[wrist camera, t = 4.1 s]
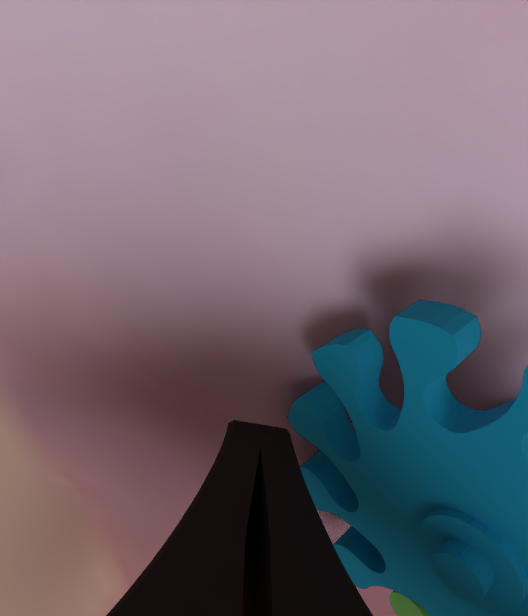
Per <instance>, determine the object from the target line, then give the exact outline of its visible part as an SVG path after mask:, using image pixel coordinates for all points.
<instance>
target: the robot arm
mask: <svg viewBox="0 0 528 616" xmlns="http://www.w3.org/2000/svg"><path fill="white" fill-rule="evenodd" d="M106 616H373V615H372V613H371V612H370V610H369V609H368V607H367V605H366V604H365V602H364V600H363V599H362V597H361V595H360V594H359V592H358V590H357V589H356V587H355V585H354V583H353V582H352V580H351V578H350V576H349V575H348V573H347V571H346V569H345V567H344V565H343V564H342V562H341V560H340V558H339V556H338V554H337V552H336V550H335V548H334V546H333V544H332V542H331V540H330V538H329V536H328V534H327V532H326V530H325V527H324V525H323V523H322V521H321V519H320V516H319V514H318V512H317V509H316V507H315V505H314V502H313V500H312V497H311V495H310V493H309V490H308V488H307V485H306V483H305V480H304V477H303V475H302V472H301V469H300V466H299V463H298V460H297V457H296V454H295V451H294V448H293V444H292V440H291V436H290V433H289V432H288V430H287V429H284V428H278V427H272V426H266V425H260V424H254V423H248V422H242V421H236V420H233V421H232V422H230V423H228V428H227V432H226V435H225V438H224V441H223V444H222V446H221V449H220V451H219V453H218V455H217V458H216V460H215V462H214V464H213V466H212V468H211V470H210V472H209V473H208V475H207V477H206V479H205V481H204V483H203V485H202V486H201V488H200V490H199V492H198V493H197V495H196V497H195V498H194V500H193V501H192V503H191V505H190V506H189V508H188V509H187V511H186V513H185V514H184V516H183V517H182V519H181V520H180V522H179V524H178V525H177V526H176V528H175V529H174V531H173V532H172V534H171V535H170V537H169V538H168V539H167V541H166V542H165V544H164V545H163V546H162V548H161V549H160V550H159V552H158V553H157V554H156V556H155V557H154V558H153V560H152V561H151V562H150V564H149V565H148V566H147V568H146V569H145V570H144V571H143V572H142V574H141V575H140V576H139V577H138V579H137V580H136V581H135V582H134V584H133V585H132V586H131V587H130V589H129V590H128V591H127V592H126V593H125V595H124V596H123V597H122V598H121V599H120V601H119V602H118V603H117V604H116V605H115V606H114V608H113V609H112V610H111V611H110V612H109V613H108V614H107V615H106Z"/></svg>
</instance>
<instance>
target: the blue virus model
mask: <svg viewBox="0 0 528 616" xmlns="http://www.w3.org/2000/svg"><path fill="white" fill-rule="evenodd" d="M389 338H390V342H391V346H392V348H393V350H394V352H395V354H396V357H397V359H398V362H399V365H400V368H401V371H402V376H403V382H404V402H403V407H402V410H401V409H399V408H397V407H395V406H394V405H392V404H391V403H390V402H389V401H388V400H387V399H386V398H385V396H384V395H383V393H382V391H381V388H380V385H379V376H380V372H381V369H382V365H383V359H384V357H383V350H382V347H381V344H380V342H379V340H378V339H377V337H376V336H375V334H374V333H373V332H372V331H371V330H370V329H355V330H351V331H348V332H345V333H343V334H342V335H340V336H338V337H336V338H334V339H333V340H331V341H329V342H328V343H326V344H324V345H323V346H321V347H320V348H318V349H316V350H315V351H313V352H312V356H313V361H314V364H315V367H316V369H317V371H318V373H319V374H320V375H321V377H322V378H323V379H324V380H325V381H326V383H325V382H321V383H320V384H318V385H317V386H315V387H314V388H312V389H311V390H309V391H308V392H306V393H305V394H304V395H302V396H301V397H299V398H298V399H296V400H295V402H294V403H293V404H292V406H291V408H290V411H289V414H288V417H287V418H288V420H289V422H290V424H291V425H292V427H293V428H294V430H295V431H296V432H297V433H298V434H299V435H300V436H301V437H303V438H304V439H306V440H307V441H309V442H311V443H312V444H313V445H315V446H316V447H317V448H318V449H320V450H321V451H319V452H318V453H317V454H315V455H314V456H313V457H312V458H310V459H309V460H308V461H307V462H305V463H304V464H303V465H302V466H300V469H301V472H302V475H303V477H304V480H305V483H306V485H307V488H308V490H309V493H310V495H311V497H312V500H313V502H314V505H315V507H316V509H318V510H322V511H327V512H329V513H332V514H334V515H336V516H338V517H340V518H341V519H343V520H344V521H346V522H347V523H349V524H350V525H352V526H351V527H350V528H349V529H348V530H347V531H346V532H345V533H344V534H343V535H342V536H341V537H340V538H339V539H338V540H337V541H336V542H335V543H334V544H333V546H334V548H335V550H336V552H337V554H338V556H339V558H340V560H341V562H342V564H343V565H344V567H345V569H346V571H347V573H348V575H349V576H350V578H351V580H352V582H353V583H354V585H355V586H356V587H359V588H362V589H366V588H368V587H369V586H383V587H386V588H389V589H392V590H394V591H393V592H392V593H391V594H390V602H391V605H392V607H393V609H394V611H395V612H396V613H397V615H398V616H528V365H527V367H526V369H525V371H524V376H523V382H522V387H521V389H520V392H519V394H518V397H517V398H515V399H513V400H511V401H509V402H507V403H505V404H502V405H500V406H497V407H495V408H492V409H489V410H485V411H483V410H475V409H471V408H469V407H467V406H465V405H463V404H462V403H460V402H459V401H458V400H457V399H456V398H455V397H454V396H453V394H452V393H451V392H450V390H449V388H448V385H447V381H446V374H448V373H449V372H450V371H452V370H453V369H454V368H455V367H456V366H457V365H458V364H460V363H461V362H462V361H463V360H464V359H465V358H466V357H468V356H469V355H470V354H471V353H472V352H473V351H474V350H475V349H476V348H477V346H478V344H479V342H480V338H481V328H480V323H479V321H478V318H477V316H475V315H473V314H471V313H470V312H468V311H466V310H464V309H461V308H458V307H456V306H453V305H449V304H444V303H440V302H433V301H425V300H419V301H417V302H416V303H414V304H413V305H411V306H410V307H408V308H407V309H405V310H404V311H402V312H401V313H399V314H398V315H396V316H395V317H394V319H393V320H392V322H391V325H390V329H389ZM344 407H345V408H346V410H347V412H348V414H349V416H350V418H351V420H352V423H353V426H354V429H355V432H356V433H355V432H354V431H353V429H352V428H351V426H350V424H349V422H348V419H347V415H346V412H345V408H344Z"/></svg>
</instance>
